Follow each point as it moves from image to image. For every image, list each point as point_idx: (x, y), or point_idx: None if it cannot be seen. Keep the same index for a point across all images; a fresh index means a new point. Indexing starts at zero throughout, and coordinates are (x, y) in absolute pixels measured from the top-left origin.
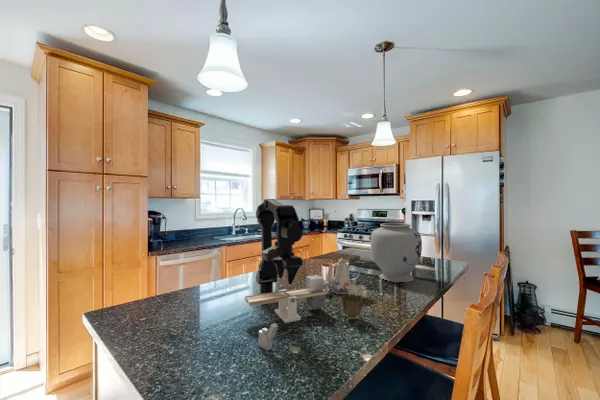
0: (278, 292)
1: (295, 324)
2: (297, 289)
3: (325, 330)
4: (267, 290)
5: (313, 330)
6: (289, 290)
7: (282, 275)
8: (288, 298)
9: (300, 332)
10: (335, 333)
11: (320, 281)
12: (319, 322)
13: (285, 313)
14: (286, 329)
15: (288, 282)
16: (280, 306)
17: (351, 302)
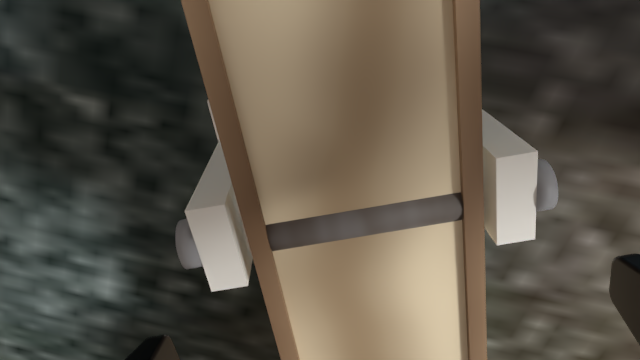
0: (458, 136)
1: (170, 160)
2: (468, 345)
3: (57, 305)
4: None
5: (60, 245)
6: (466, 269)
7: (636, 338)
8: (191, 208)
9: (33, 164)
10: (14, 339)
11: None
12: (177, 304)
13: None
14: (89, 80)
15: (133, 355)
16: None
17: None
